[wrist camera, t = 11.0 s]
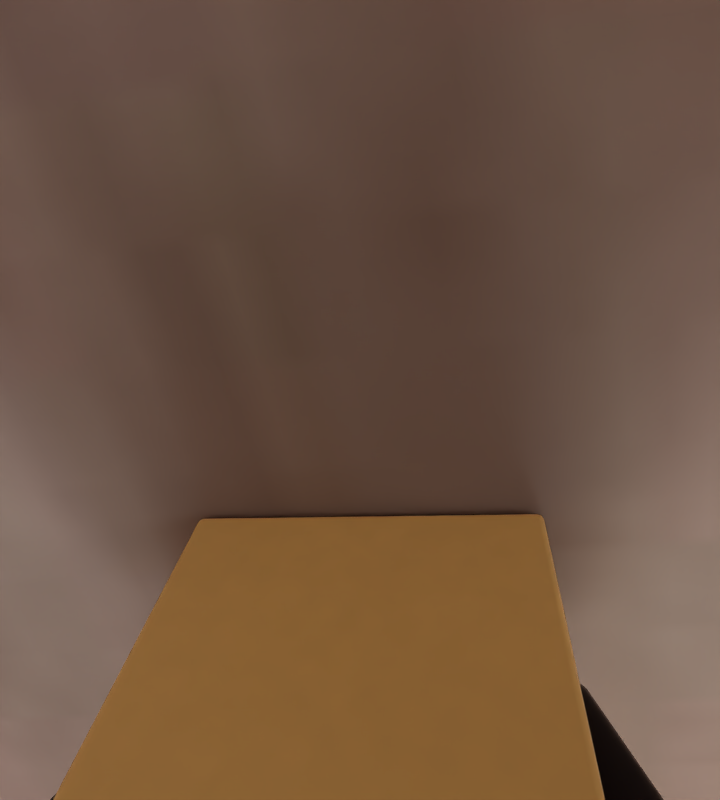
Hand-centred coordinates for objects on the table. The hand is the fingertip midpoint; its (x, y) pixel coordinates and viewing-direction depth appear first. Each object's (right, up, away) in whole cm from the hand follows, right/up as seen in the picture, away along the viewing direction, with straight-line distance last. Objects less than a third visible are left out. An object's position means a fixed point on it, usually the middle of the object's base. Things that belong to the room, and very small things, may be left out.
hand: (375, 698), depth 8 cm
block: (0, 0, +1) cm, 1 cm away
